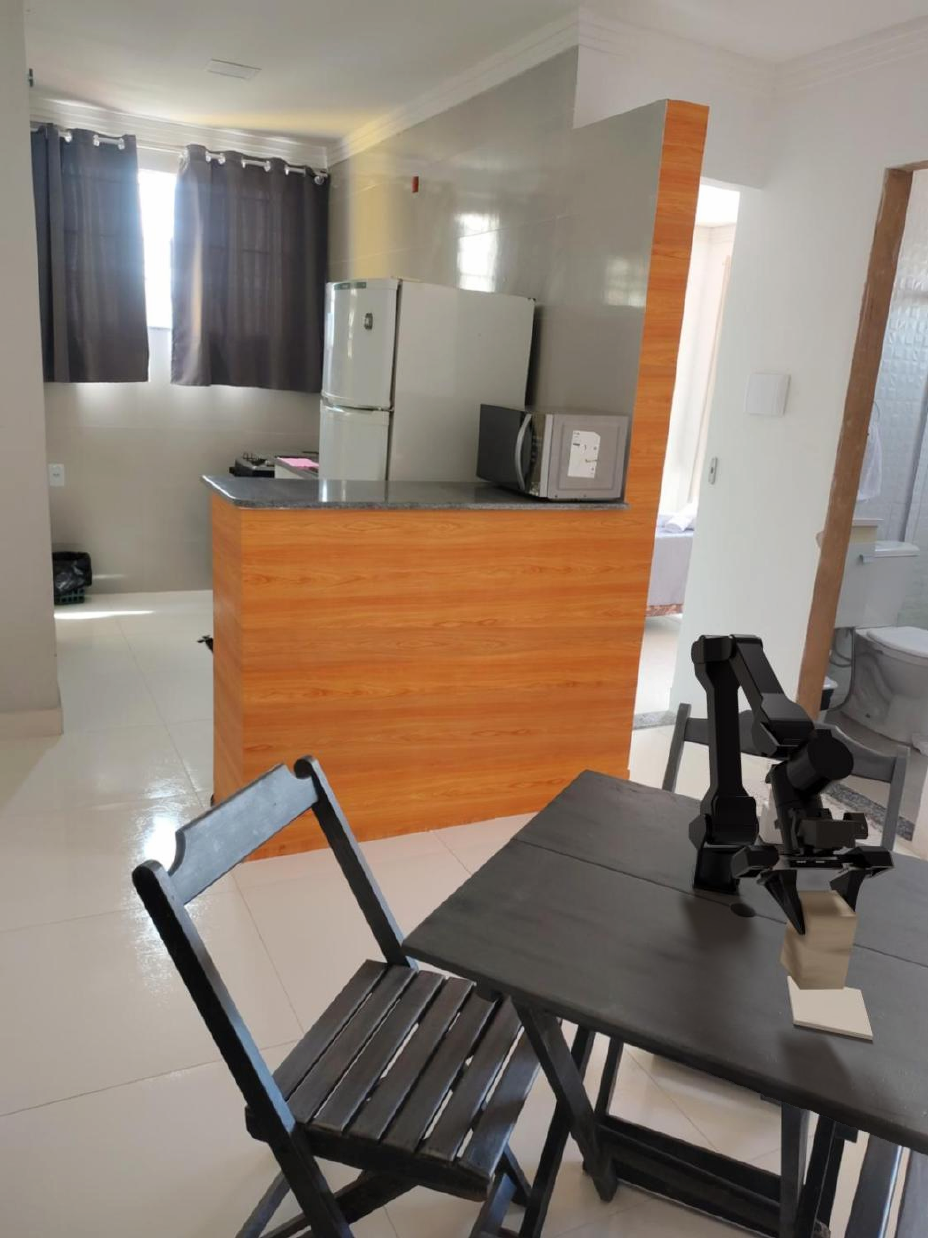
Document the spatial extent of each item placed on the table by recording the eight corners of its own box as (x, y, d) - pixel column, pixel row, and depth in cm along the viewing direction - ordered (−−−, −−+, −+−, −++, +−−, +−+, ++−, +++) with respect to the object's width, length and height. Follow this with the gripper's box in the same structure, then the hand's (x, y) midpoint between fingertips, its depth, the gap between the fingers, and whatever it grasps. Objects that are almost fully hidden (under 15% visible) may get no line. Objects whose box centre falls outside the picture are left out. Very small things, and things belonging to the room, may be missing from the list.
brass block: (780, 961, 117) (793, 890, 114) (821, 960, 117) (835, 890, 115) (799, 990, 111) (813, 916, 109) (843, 989, 112) (858, 916, 109)
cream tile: (793, 1024, 114) (794, 1019, 114) (787, 979, 123) (787, 975, 122) (872, 1040, 112) (872, 1036, 112) (859, 994, 121) (860, 990, 121)
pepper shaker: (787, 845, 159) (796, 794, 156) (763, 844, 159) (772, 793, 156) (779, 834, 163) (788, 784, 160) (756, 833, 163) (765, 782, 160)
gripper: (754, 785, 111) (779, 921, 103) (901, 787, 113) (936, 920, 106) (720, 813, 120) (741, 940, 113) (856, 815, 123) (886, 939, 115)
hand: (825, 934), depth 111 cm, fingers closed on brass block, 5 cm apart
